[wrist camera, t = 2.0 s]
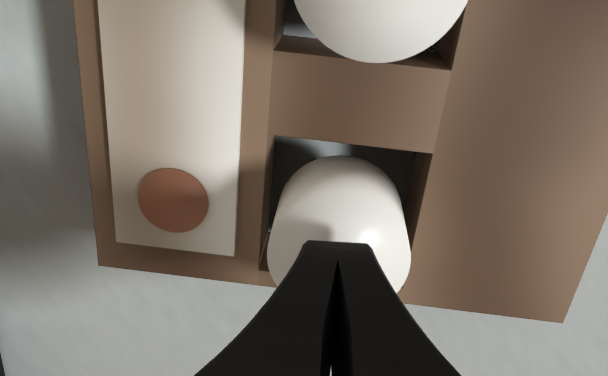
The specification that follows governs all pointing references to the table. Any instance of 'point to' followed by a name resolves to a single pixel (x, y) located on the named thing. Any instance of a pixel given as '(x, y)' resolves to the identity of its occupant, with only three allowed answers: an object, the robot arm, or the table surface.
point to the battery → (1, 368)
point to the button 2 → (340, 215)
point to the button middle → (379, 26)
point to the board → (352, 141)
